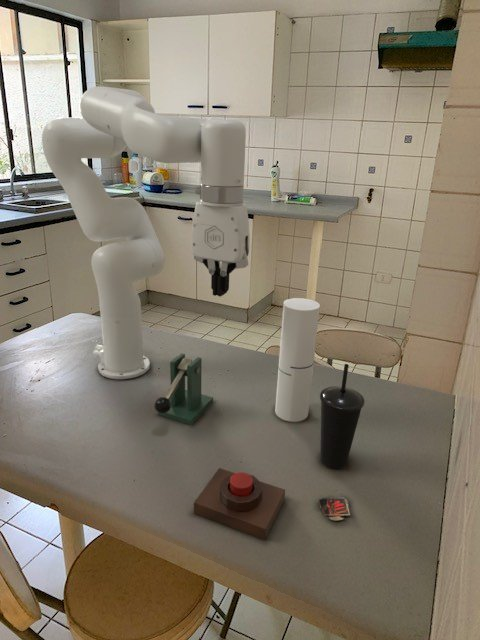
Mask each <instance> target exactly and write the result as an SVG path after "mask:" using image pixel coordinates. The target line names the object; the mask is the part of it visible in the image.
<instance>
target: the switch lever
mask: <svg viewBox="0 0 480 640" xmlns="http://www.w3.org/2000/svg"><path fill="white" fill-rule="evenodd" d="M192 361H194V359H190V358H186V357H185V358H183V359H182V361H181V362H180V364H179V366H178V367H177V368H178V371H179V373H178V375H177V376H176V378H175V380H174V381H173V383H172V384H171V383H170V386H169V388H168V389H167V390H166V393H165V394H164V396H161V397H158V398H157V399H156V400H155V402H154V405H153V407H154V410H155V412H157V414H158V413H161V414H164V413H167V412H168V411H169V410H170V408H171V402H170V400H171V398H172V396H173V395H174V393H175V391H176V390H177V388H178V386H179V385H180V383H181V381H182V380H183V378H184V376H185V378H187V365H189V364H190V363H191V362H192Z"/></svg>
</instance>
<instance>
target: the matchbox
mask: <svg viewBox="0 0 480 640" xmlns="http://www.w3.org/2000/svg"><path fill="white" fill-rule="evenodd" d="M318 505H319V508H320V510H321V512H322V513H323V515H324V516H328V518H329V519H330V520H331V521H334V522H337V521H343V520H344V519H345V518H344V516H351V514H350V509H349V501H348V499H347V498H346V497H324V498H320V499H318ZM342 516H343V517H342Z"/></svg>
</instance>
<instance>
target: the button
mask: <svg viewBox="0 0 480 640" xmlns="http://www.w3.org/2000/svg"><path fill="white" fill-rule="evenodd" d="M234 473H235V474H234V475H232V476H231V478H230V491H231V493H232V494H233V495H235V496H238V497H244V496H248V495H249V494H251V492H252V488H253V479H252V477H251V476H250V475H251V474H250V473H247V472H234Z"/></svg>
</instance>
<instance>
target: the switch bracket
mask: <svg viewBox="0 0 480 640" xmlns="http://www.w3.org/2000/svg"><path fill="white" fill-rule="evenodd" d="M183 358H186V354H185V353H182V352H181V353H179V354H178V355H177V356H175V357H174V358H172V359H171V360H170V361H169V369H170V371H169V374H170V376H169V377H170V385H171V384H172V383H173V381H174V380H175V378H176V376H177V375H178V373H179V371H178V368H177V367H178V366H179V364H180V362H181V361H182V359H183ZM186 387H187V388H186ZM170 402H171V408H170V410H169V411H168V412H167V413H164V414H161V413H158V412H157V416H159V417H163V418H166V419H170V420H173V421H176V422H180V423H183V424H186V425H190V426H192V425H193V424H194V423H195V422H196V421H197V420H198V419H199V418H200V416H201V415H202V414H203V413H204V412H205V411H206V410H207V409H208V408H209V407H210V406H211V405H212V404H213V403H214V396H210V395H206V394H203V393H202V358H201V357H199V356H197V357H196V358H195V359H193V361H192V362H191V363H190V364H189V365H187V377H186V376H184V378H183V380H182V381H181V383H180V385H179V386H178V388H177V390H176V391H175V393H174V395H173V396H172V398H171V400H170Z"/></svg>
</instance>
